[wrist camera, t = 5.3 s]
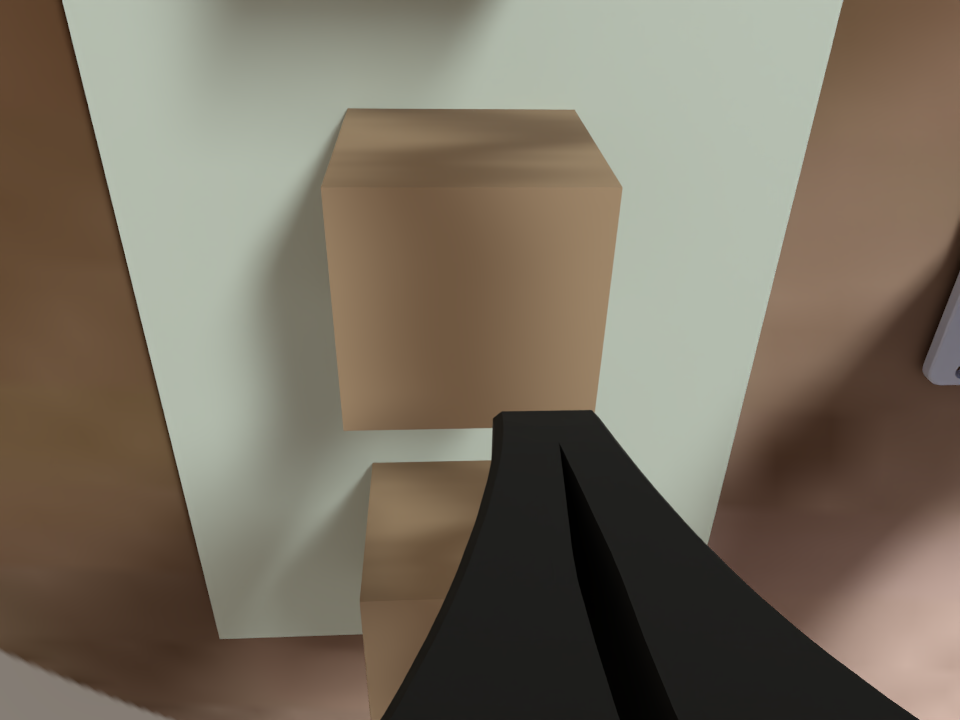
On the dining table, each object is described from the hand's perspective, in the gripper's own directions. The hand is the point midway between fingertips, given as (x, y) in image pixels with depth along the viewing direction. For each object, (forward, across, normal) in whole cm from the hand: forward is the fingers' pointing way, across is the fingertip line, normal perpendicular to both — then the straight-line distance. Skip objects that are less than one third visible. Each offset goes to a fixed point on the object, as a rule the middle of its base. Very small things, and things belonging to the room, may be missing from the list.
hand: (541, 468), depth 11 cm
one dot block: (+9, +1, +10) cm, 14 cm away
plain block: (+9, +1, 0) cm, 9 cm away
